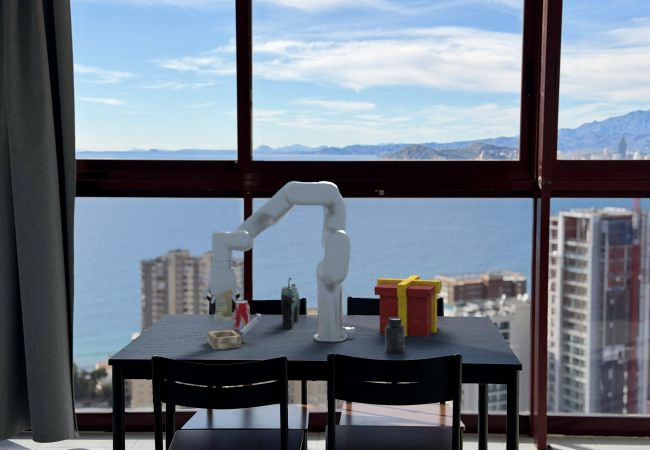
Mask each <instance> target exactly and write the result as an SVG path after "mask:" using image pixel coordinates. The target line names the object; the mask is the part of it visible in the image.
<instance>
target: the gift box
mask: <svg viewBox="0 0 650 450" xmlns="http://www.w3.org/2000/svg"><path fill="white" fill-rule="evenodd" d="M420 277H421V276H420V275H414V274H413V275H410V276H408V278H407V277H406V278H405V279H404V278H388V277H387V278H385V277H384V278H383V277H382V278H381V277H379V278H377V279H376V284H377V285H376V286H374V296H379V334H380V335H385V328H386V326H388V325H389V324H388V318H391V317H399V318H401V319H402V324H401V325H402V326H403V327H404V330H405V338H406V337H408V336H409V337H421V338H428V336H430V335H431V334H432V333H433V334H436V333H437V332H438V315H437V314H438V295H439V294H441V291H442V286H443V285H442V284H443V282H442V280H434V279H433V280H432V279H421V278H420Z"/></svg>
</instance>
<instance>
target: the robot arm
mask: <svg viewBox="0 0 650 450" xmlns="http://www.w3.org/2000/svg"><path fill="white" fill-rule="evenodd" d="M297 206H307V207H308V206H321V207H322V210H323V223H322V231H321V239H320V244H321V247H322V248H323V250H324V255H323V257H321V258H320V260H319V261H318V262H317V264H316V268H315V274H316V275H315V276H316V285H317V286H316V287H317V333H315V334H314V336H313V339H314V340H315V341H317V342H322V343H323V342H325V343H336V342H337V343H338V342H343V341H346V340H347V339H348V333H349V334H350V333H351V334H352V333H355V332H356V329H355V328H356V327H354V326H353V327H349V326H347V327H346V326H344V321H343V320H344V319H343V315H344V314H343V313H344V311H343V307H344V305H343V300H344V299H343V295H344V294H343V282H344V281H346V278H347V276H348V274H349V266H350V258H351V257H350V255H351V249H352V248H351V239H350V237H349V235H348V234H347V233H346V225H347V223H346V222H347V207H346V202H345V200H344V198H343V196H342V194H341V193H340V191H339V188H338V186H337V185H336V184H334V183H333V182H330V181H324V180H323V181H318V182H304V181H303V182H301V181H289V182H287V183H286V184H284V186H283V187H281V188H280V189H279V190H278V191H277V192H276V193H275V194H274V195H273V196H272V197H271V198H270V199H269V200H268V201H266V202H265V203H264V204H263V205H262V206H261V207H259V208H258V209H257V210H256V211H255V212H254V213H253V214H251V215H250V216H249V217H247V219H245V220H244V221H243V222H242V223H241V224H240V225H239V226H238V227H237V228H236V229H235V230H234V231H233V232H231V231H229V230H217V231H214V232H213V233H212V234H211V268H209V271H208V272H209V273H208V286H207V287H206V288H204V290H202V292H201V295H202V296H203V297H204V298H205V299H206V300H207V301H208V302H209V304H210V312H211V313H212V314H213V315H214V314H215V313H216V305H215V302H214V301H215V299H216V295H220V294H222V293H224V292H226V291H228V290H229V289H232V312H233V313H234V310H236V301H237V300H239V299H240V297H241V296H242V295H243V294H244V292H245V290H244V288H242V287H241V286H240V285H238V283H237V275H236V274H237V273H236V269H235V267H234V266H235V265H237V261H236V260H234V259H233V258H234V257H233V251H236V252H247V251H249V250H251V249H252V248H253V246H254V244H255V239H256V238H257V237H258V236H259V235H260V234H261V233H263V232H264V231H265V230H267V229H268V228H271V227H272V226H273V227H274V226H275V225H277V224H278V223H280V222H281V221H282V220H283V219H284V218H285V217H286V216H287V215H288V214H289V213H290V212H292V211H293V210H294V209H295V207H297ZM208 294H210V296H209V295H208Z"/></svg>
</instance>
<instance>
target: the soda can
mask: <svg viewBox="0 0 650 450" xmlns="http://www.w3.org/2000/svg"><path fill="white" fill-rule="evenodd" d="M248 302H249V301H248V300H246V299H245V300H243V299H240V300H239V299H237V301H236V310H234V313H233V312H232V321H231V328H232V329H231V330H236V329H239V330H240V331H241V330H242V329H243V328H244V327H245V326H246V325H247V324H248V323H249V322H250V321H251V319H250V318H251V317H250V315H251V314H250V313H251V312H250V305H249V304H250V303H248Z"/></svg>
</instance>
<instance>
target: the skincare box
mask: <svg viewBox="0 0 650 450" xmlns="http://www.w3.org/2000/svg"><path fill="white" fill-rule="evenodd" d="M214 302H215V305H216V313H215V314H213V319H214V320H213V321H215V322H217V323H219V322H220V323H221V322H232V289H229V290H228V291H226V292H224V293H222V294H220V295H216V299H215V301H214Z"/></svg>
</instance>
